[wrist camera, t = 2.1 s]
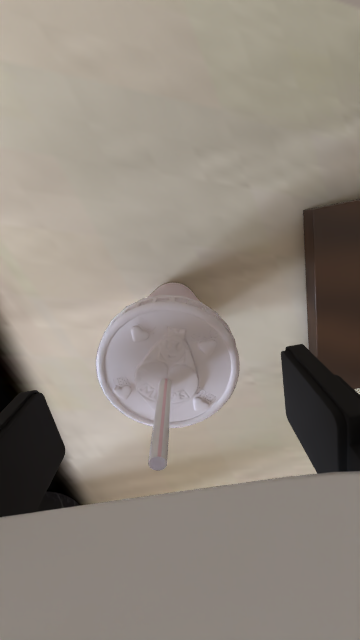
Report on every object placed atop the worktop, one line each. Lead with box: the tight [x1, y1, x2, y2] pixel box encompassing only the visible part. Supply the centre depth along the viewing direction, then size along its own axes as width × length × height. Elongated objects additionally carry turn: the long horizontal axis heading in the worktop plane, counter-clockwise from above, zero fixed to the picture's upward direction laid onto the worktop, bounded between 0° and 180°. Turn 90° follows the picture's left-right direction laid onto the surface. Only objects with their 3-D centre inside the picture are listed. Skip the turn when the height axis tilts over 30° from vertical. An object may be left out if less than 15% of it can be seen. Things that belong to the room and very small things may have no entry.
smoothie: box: [96, 283, 239, 470], centre depth 15 cm, size 6×6×14 cm
